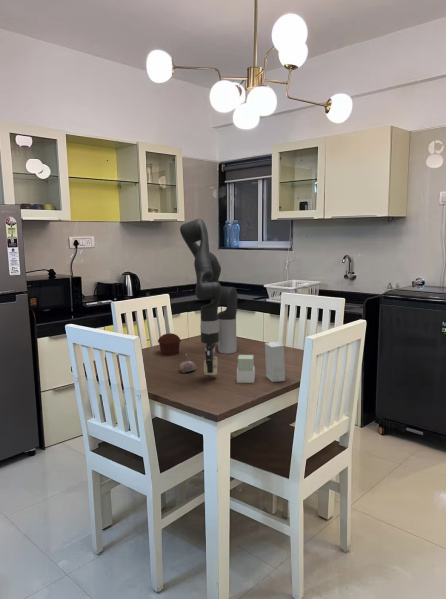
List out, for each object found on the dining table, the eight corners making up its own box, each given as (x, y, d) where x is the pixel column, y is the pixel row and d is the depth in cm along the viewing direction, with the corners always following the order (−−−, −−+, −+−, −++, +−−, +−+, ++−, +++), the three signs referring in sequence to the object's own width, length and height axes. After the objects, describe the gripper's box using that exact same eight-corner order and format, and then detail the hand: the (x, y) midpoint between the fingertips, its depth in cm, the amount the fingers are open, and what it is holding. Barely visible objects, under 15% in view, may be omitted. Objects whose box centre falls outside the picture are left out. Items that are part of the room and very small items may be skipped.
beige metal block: (205, 370, 191) (205, 357, 190) (217, 370, 191) (217, 356, 190) (204, 374, 186) (203, 360, 185) (216, 374, 186) (215, 360, 185)
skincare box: (285, 381, 184) (285, 345, 182) (271, 382, 183) (271, 346, 180) (278, 375, 192) (278, 340, 190) (264, 376, 191) (264, 341, 188)
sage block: (239, 366, 189) (239, 354, 188) (253, 366, 188) (253, 355, 187) (237, 370, 183) (237, 358, 182) (252, 371, 182) (252, 359, 181)
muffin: (182, 350, 235) (181, 331, 233) (180, 356, 224) (180, 336, 223) (159, 350, 235) (158, 331, 233) (156, 356, 224) (156, 337, 222)
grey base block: (238, 377, 190) (237, 365, 190) (254, 377, 190) (254, 366, 189) (236, 382, 183) (236, 371, 183) (254, 383, 183) (254, 371, 182)
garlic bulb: (180, 374, 195) (179, 356, 194) (178, 369, 202) (177, 352, 201) (197, 373, 197) (196, 355, 196) (195, 368, 204) (194, 351, 203)
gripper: (202, 326, 193) (204, 365, 196) (198, 334, 179) (199, 376, 182) (220, 326, 192) (221, 365, 195) (217, 334, 178) (218, 376, 181)
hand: (210, 370), depth 188 cm, fingers closed on beige metal block, 5 cm apart
